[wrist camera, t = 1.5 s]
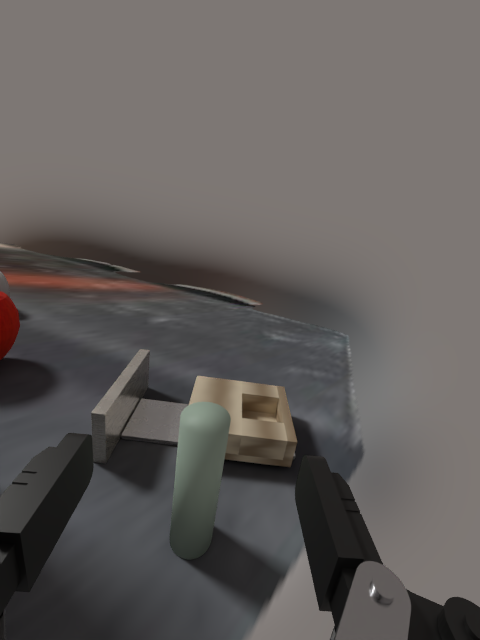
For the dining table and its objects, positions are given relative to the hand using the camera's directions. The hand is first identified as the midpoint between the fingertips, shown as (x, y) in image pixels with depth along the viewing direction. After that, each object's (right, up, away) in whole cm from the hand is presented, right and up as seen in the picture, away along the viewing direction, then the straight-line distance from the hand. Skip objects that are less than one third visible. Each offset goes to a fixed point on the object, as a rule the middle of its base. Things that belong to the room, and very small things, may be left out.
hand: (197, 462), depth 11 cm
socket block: (+1, -11, +31) cm, 33 cm away
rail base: (-2, -10, +31) cm, 33 cm away
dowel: (-3, -15, +17) cm, 23 cm away
